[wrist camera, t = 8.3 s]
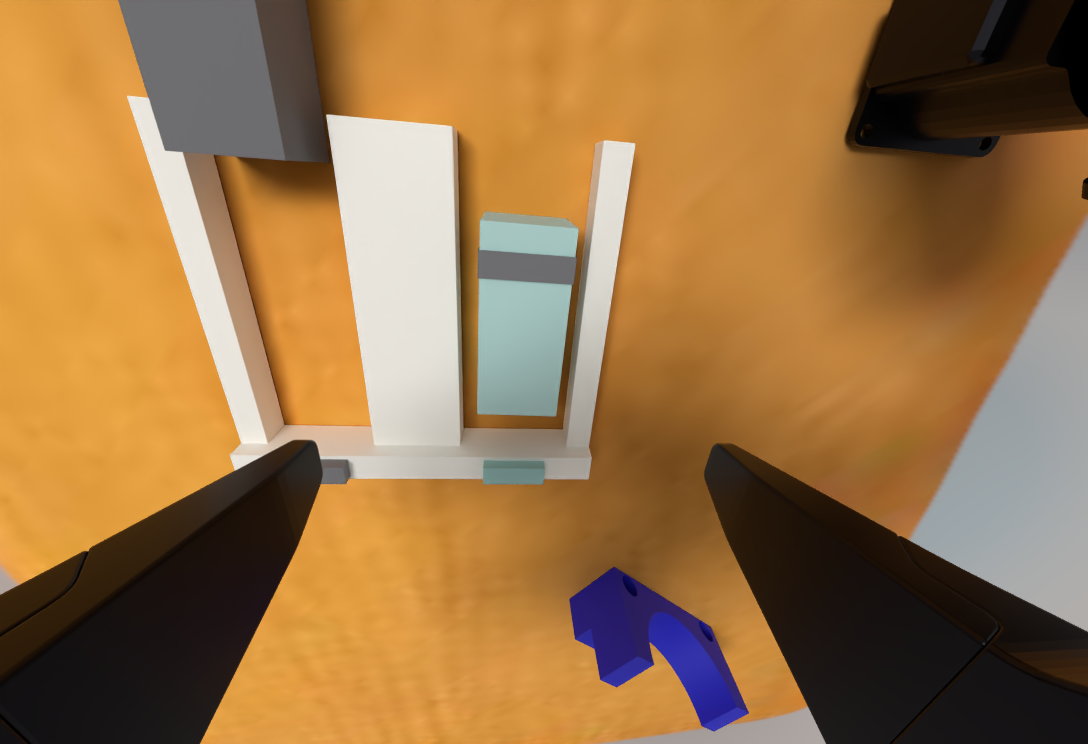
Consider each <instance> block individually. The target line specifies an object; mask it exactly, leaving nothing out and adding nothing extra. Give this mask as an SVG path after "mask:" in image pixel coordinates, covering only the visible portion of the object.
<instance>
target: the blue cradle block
mask: <svg viewBox="0 0 1088 744" xmlns="http://www.w3.org/2000/svg"><path fill="white" fill-rule="evenodd" d="M569 600H570V607H571V614H572V621H573V628H574V635H575V639H576V640H578V641H580V642H582V643H584V644H586V645H588V646H590V647H592V648H594V649H595V653H596V659H597V664H598V670H599V675H600V680H602V681H604V682H606V683H608V684H611V685H613V686H615V687H618V686H620V685H621V684H623V683H625V682H626V681H628V680H630V679H631V678H633V677H634V676H636V675H638V674H639V673H641V672H643V671H644V670H646V669H648V668H649V667H651V666H653V665H654V662H653V659H652V655H651V650H650V644H649V642H651V643H652V644H653V645H654V646H655V647H656V648H657V649H658V650H659V651H660V652H661V653H662V655H663V656H664V657H665V658H666V660H667V661H668V662H669V663H670V665H671V666H672V668H673V669H674V671H675V672H676V674H677V675H678V677H679V679H680V680H681V682H682V684H683V685H684V687H685V689H686V691H687V693H688V695H689V697H690V699H691V701H692V703H693V706H694V708H695V710H696V713H697V715H698V717H699V720H700V723H701V726H703V727H705V728H707V729H710V730H712V731H716V730H718V729H719V728H721V727H723V726H725V725H727V724H729V723H731V722H733V721H735V720H737V719H739V718H741V717H743V716H745V715H747V714H749V712H748V710H747V708H746V705H745V703H744V701H743V699H742V696H741V694H740V692H739V690H738V687H737V685H736V683H735V681H734V678H733V676H732V674H731V672H730V669H729V667H728V665H727V663H726V660H725V658H724V656H723V654H722V651H721V649H720V647H719V645H718V642H717V640H716V638H715V636H714V633H713V631H712V629H711V627H710V626H709V625H707V624H705V623H704V622H702V621H701V620H699V619H697V618H696V617H694V616H692V615H691V614H689V613H688V612H686V611H684V610H683V609H681V608H680V607H678V606H676V605H675V604H673V603H672V602H670V601H668V600H667V599H665V598H664V597H662V596H660V595H659V594H657V593H655V592H654V591H652V590H651V589H649V588H647V587H646V586H644V585H643V584H641V583H639V582H638V581H636V580H635V579H633V578H631V577H630V576H628V575H627V574H625V573H623V572H622V571H620V570H618V569H617V568H615V567H613V568H612V569H610V570H609V571H608V572H606V573H605V574H603V575H602V576H601V577H599V578H598V579H597V580H595V581H594V582H592V583H591V584H590V585H588V586H587V587H586V588H584V589H583V590H581V591H580V592H579V593H577V594H576V595H574V596H573V597H572V598H570V599H569Z"/></svg>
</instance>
